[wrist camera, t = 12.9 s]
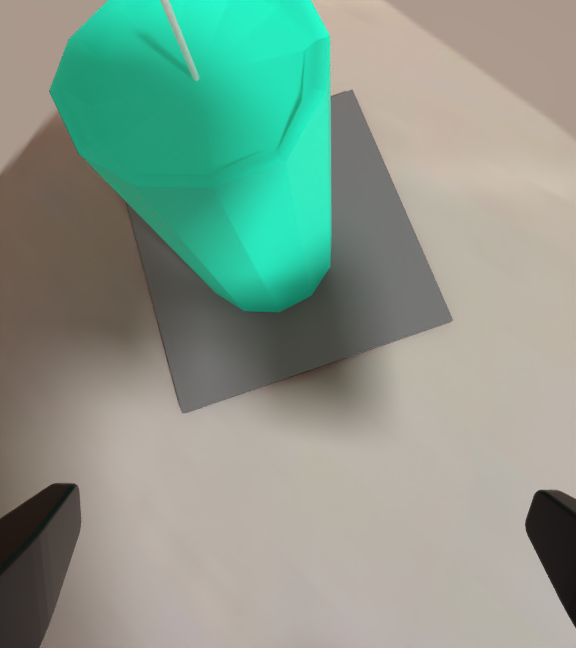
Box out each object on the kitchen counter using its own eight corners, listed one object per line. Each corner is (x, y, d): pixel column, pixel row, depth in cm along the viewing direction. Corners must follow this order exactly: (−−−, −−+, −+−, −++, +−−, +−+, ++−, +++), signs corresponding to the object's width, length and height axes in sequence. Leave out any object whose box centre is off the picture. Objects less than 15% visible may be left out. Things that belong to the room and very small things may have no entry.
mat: (450, 322, 18) (452, 320, 18) (185, 413, 18) (182, 413, 18) (351, 95, 21) (352, 89, 20) (122, 178, 21) (118, 174, 21)
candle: (212, 327, 19) (8, 183, 7) (192, 205, 20) (-9, -90, 8) (347, 296, 18) (372, 90, 7) (317, 174, 20) (293, -180, 8)
